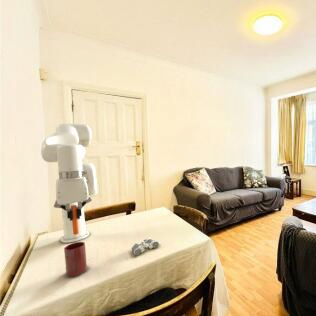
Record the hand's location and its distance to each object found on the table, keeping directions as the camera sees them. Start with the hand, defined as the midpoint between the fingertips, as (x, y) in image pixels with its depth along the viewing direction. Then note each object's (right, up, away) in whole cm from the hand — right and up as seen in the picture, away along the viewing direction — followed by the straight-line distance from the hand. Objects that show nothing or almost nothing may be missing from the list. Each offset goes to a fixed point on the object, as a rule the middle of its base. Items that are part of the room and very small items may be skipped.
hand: (74, 218), depth 83 cm
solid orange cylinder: (0, -7, +1) cm, 7 cm away
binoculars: (+20, -21, +20) cm, 35 cm away
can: (0, -23, +2) cm, 23 cm away
